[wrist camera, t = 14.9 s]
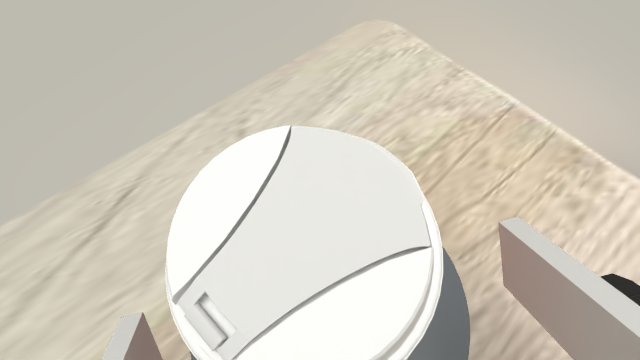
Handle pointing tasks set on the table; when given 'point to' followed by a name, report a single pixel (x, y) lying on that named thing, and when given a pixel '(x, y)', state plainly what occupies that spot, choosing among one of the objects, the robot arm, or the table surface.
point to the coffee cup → (303, 252)
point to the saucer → (445, 322)
